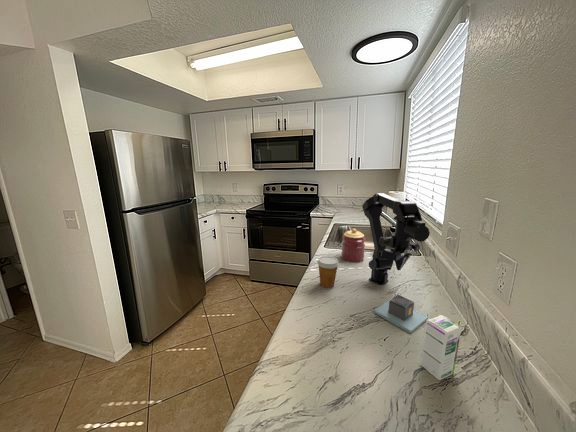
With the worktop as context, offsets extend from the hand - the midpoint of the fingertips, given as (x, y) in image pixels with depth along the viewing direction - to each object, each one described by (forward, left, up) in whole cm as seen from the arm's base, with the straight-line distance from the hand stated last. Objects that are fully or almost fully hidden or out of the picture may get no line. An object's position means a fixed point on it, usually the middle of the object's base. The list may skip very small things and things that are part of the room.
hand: (398, 269), depth 97 cm
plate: (+8, -11, -12) cm, 18 cm away
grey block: (+8, -11, -11) cm, 17 cm away
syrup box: (+26, -25, -12) cm, 38 cm away
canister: (-37, +18, -12) cm, 43 cm away
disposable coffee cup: (-24, -16, -12) cm, 31 cm away
